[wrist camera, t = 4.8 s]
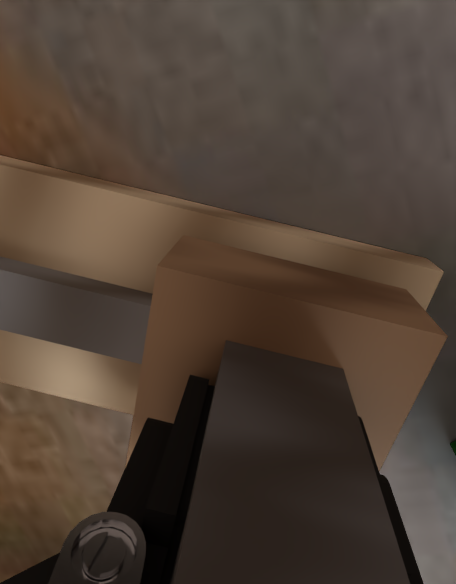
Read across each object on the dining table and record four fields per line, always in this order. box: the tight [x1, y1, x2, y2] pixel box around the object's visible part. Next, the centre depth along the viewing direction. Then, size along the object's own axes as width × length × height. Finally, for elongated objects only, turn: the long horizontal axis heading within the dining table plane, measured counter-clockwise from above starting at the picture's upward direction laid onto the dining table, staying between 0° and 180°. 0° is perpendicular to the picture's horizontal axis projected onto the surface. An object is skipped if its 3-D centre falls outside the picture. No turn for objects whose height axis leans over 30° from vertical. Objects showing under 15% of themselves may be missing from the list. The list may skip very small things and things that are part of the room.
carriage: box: [125, 235, 448, 584], centre depth 9 cm, size 7×8×9 cm
